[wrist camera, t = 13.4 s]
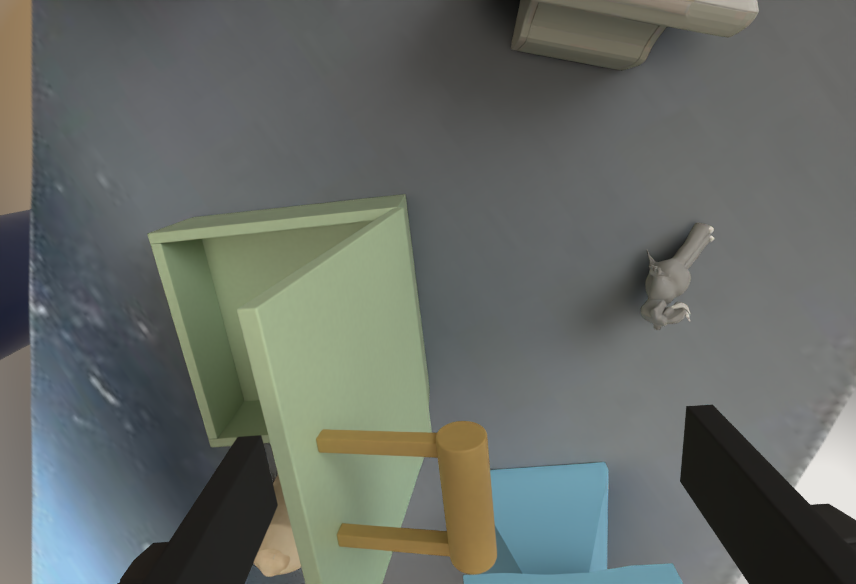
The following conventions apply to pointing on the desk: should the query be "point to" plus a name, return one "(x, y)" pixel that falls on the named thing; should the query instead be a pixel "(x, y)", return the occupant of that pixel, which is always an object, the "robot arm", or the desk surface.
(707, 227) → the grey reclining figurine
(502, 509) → the planter
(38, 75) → the desk surface
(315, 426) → the lid
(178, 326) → the chest
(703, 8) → the digital clock
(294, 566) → the candle
